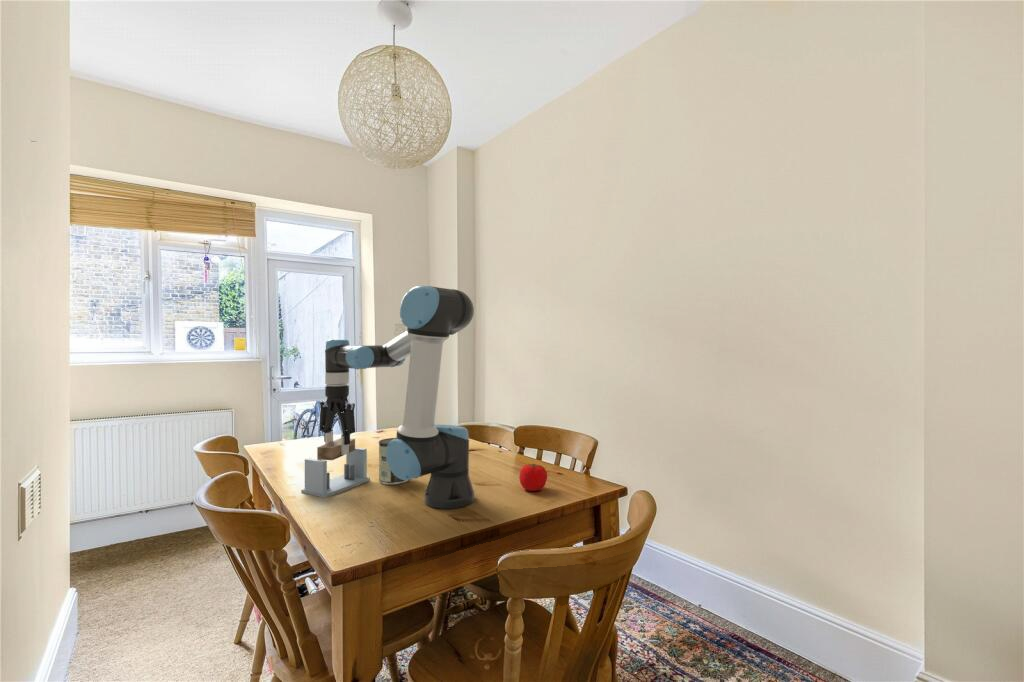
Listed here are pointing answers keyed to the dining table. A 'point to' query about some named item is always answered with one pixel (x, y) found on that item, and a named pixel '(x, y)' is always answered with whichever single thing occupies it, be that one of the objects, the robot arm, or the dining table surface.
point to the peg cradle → (325, 487)
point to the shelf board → (333, 450)
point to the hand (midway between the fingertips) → (336, 452)
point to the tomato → (533, 477)
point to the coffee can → (386, 466)
